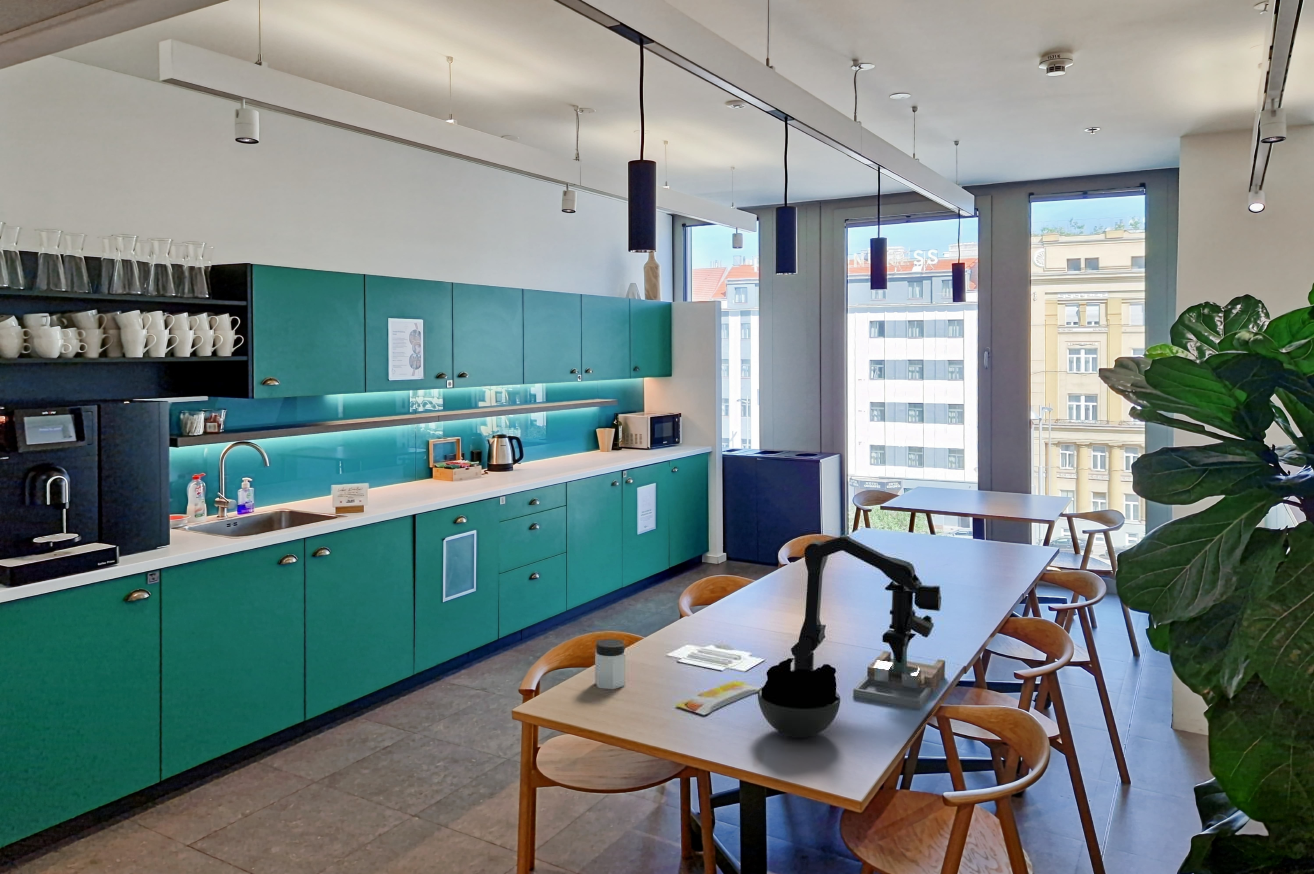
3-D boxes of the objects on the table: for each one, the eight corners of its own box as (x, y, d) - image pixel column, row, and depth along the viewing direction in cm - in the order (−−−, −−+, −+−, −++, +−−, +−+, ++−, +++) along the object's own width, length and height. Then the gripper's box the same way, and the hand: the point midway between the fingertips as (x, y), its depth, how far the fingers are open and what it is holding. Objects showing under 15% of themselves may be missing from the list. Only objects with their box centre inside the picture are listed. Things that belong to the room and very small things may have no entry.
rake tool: (918, 681, 251) (918, 650, 250) (879, 674, 257) (879, 643, 255) (921, 677, 254) (921, 646, 252) (882, 670, 259) (882, 639, 258)
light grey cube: (916, 688, 248) (916, 676, 247) (902, 685, 250) (901, 673, 249) (920, 680, 251) (919, 668, 250) (906, 677, 253) (905, 665, 252)
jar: (627, 688, 252) (627, 646, 251) (598, 690, 250) (599, 648, 249) (620, 678, 260) (621, 637, 259) (593, 680, 258) (593, 639, 257)
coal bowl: (740, 732, 221) (741, 657, 220) (794, 713, 234) (795, 642, 233) (802, 758, 206) (803, 678, 205) (856, 737, 219) (858, 661, 218)
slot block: (930, 695, 249) (931, 677, 248) (867, 683, 258) (867, 666, 257) (944, 677, 264) (945, 660, 264) (883, 666, 273) (884, 650, 273)
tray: (740, 677, 264) (740, 664, 264) (660, 664, 279) (659, 652, 279) (770, 659, 281) (769, 647, 281) (692, 647, 296) (692, 636, 296)
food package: (735, 676, 258) (764, 684, 251) (735, 684, 258) (764, 692, 251) (674, 701, 237) (704, 710, 231) (674, 709, 238) (703, 719, 231)
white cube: (888, 682, 252) (888, 669, 251) (874, 679, 254) (874, 666, 253) (892, 675, 255) (892, 662, 254) (878, 673, 257) (878, 660, 256)
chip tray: (919, 710, 237) (919, 701, 237) (853, 697, 246) (853, 689, 246) (930, 695, 248) (931, 686, 248) (866, 684, 257) (866, 675, 257)
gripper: (923, 618, 241) (922, 675, 242) (938, 603, 257) (936, 656, 258) (882, 612, 246) (881, 668, 248) (899, 598, 263) (898, 650, 264)
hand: (900, 660), depth 254 cm, fingers closed on rake tool, 3 cm apart
